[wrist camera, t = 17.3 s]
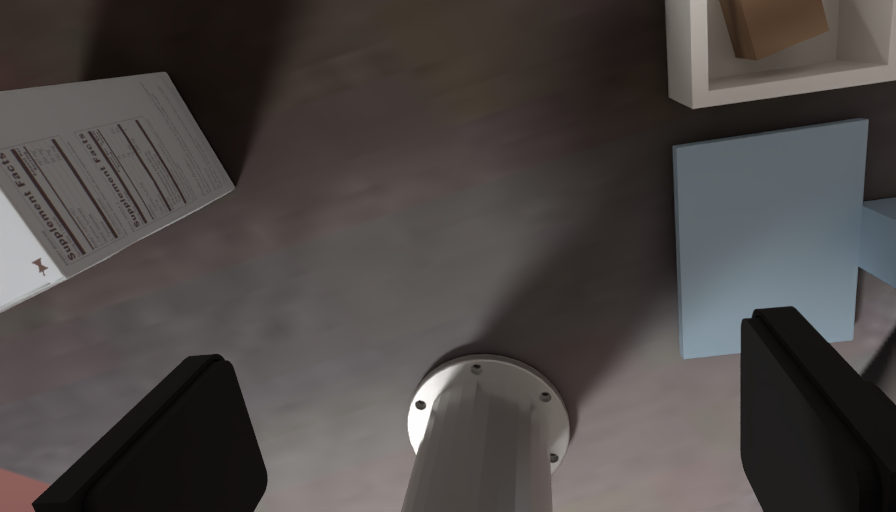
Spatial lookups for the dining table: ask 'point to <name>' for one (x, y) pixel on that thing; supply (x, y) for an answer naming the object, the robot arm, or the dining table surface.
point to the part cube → (771, 24)
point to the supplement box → (94, 175)
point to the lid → (776, 231)
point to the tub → (777, 54)
